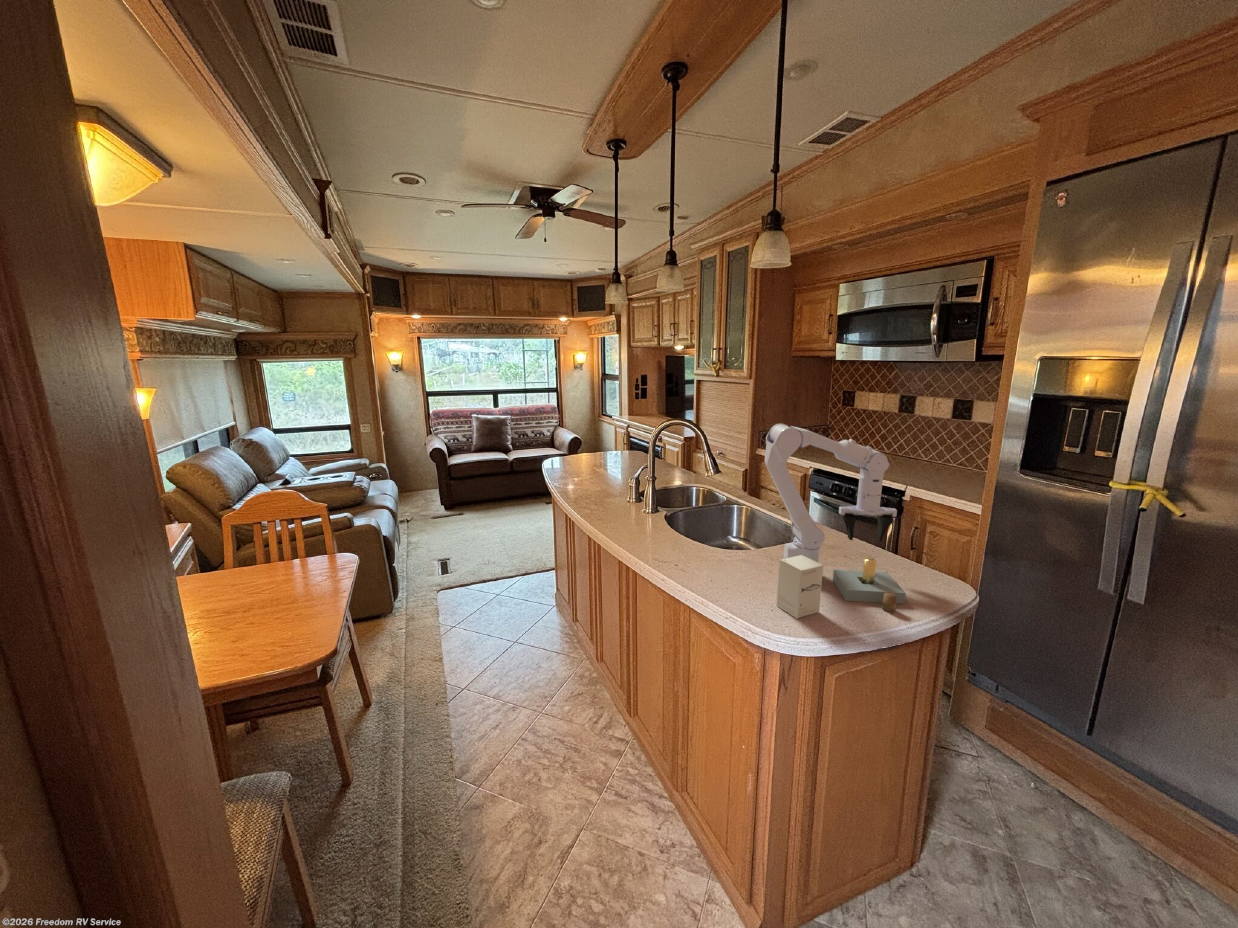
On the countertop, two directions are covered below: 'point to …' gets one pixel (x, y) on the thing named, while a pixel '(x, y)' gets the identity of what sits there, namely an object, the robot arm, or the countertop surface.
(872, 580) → the long pin
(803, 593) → the supplement box
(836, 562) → the countertop surface
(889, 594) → the short pin
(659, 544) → the countertop surface
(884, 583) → the hole plate
